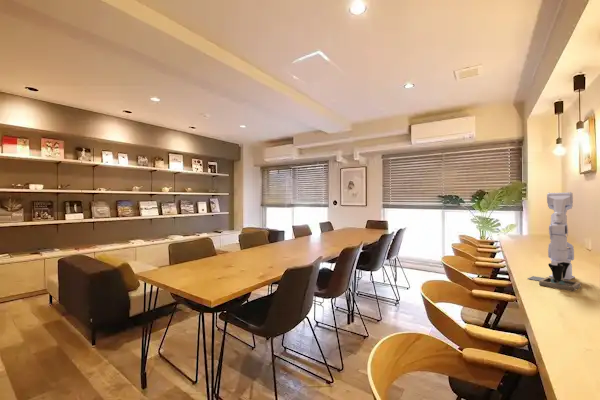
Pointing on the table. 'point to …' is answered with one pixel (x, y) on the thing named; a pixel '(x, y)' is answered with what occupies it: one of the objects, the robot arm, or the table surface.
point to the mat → (535, 278)
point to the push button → (558, 280)
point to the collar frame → (571, 287)
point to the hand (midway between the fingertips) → (559, 278)
